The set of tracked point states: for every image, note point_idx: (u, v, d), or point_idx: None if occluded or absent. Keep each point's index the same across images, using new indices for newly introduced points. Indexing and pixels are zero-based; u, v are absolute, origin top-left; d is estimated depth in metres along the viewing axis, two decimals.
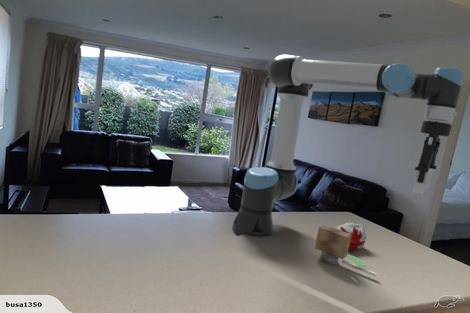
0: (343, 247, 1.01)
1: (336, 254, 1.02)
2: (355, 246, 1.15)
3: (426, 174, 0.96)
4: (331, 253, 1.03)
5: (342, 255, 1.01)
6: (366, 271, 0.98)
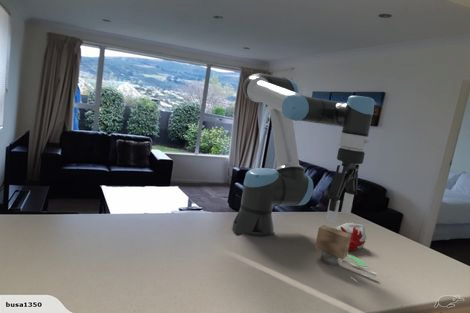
0: (343, 247, 1.01)
1: (336, 254, 1.02)
2: (355, 246, 1.15)
3: (337, 202, 0.96)
4: (331, 253, 1.03)
5: (342, 255, 1.01)
6: (366, 271, 0.98)
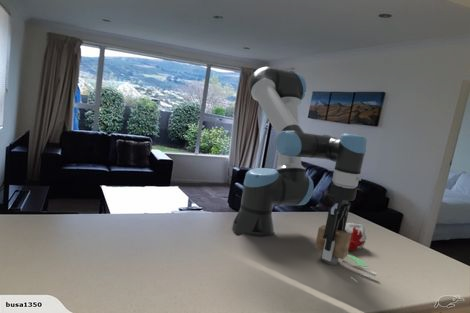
0: (343, 247, 1.01)
1: (336, 254, 1.02)
2: (355, 246, 1.15)
3: (332, 242, 1.01)
4: None
5: (342, 255, 1.01)
6: (366, 271, 0.98)
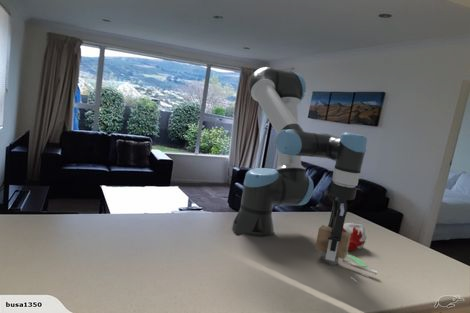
0: (344, 247, 1.01)
1: (337, 254, 1.02)
2: (355, 246, 1.15)
3: (337, 242, 1.01)
4: None
5: (343, 255, 1.01)
6: (367, 270, 0.99)
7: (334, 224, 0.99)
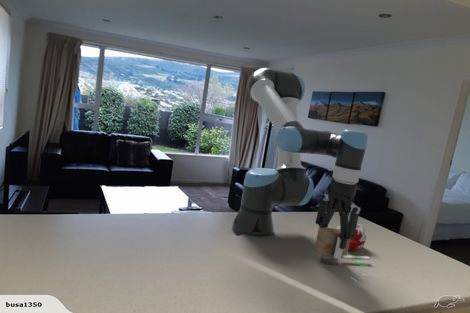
0: (347, 244, 1.04)
1: None
2: (355, 246, 1.15)
3: None
4: None
5: (346, 252, 1.04)
6: (363, 258, 1.07)
7: (349, 223, 0.98)
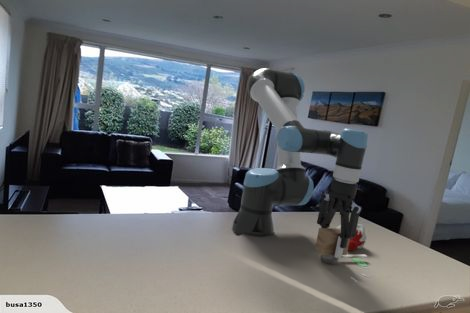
0: (347, 244, 1.04)
1: None
2: (355, 246, 1.15)
3: None
4: None
5: (346, 251, 1.05)
6: (360, 256, 1.09)
7: (350, 223, 0.98)
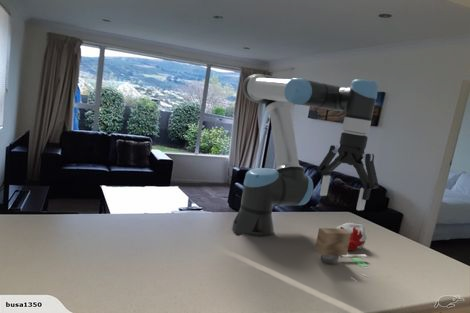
0: (347, 244, 1.04)
1: (341, 252, 1.04)
2: (355, 246, 1.15)
3: None
4: (337, 253, 1.04)
5: (346, 251, 1.05)
6: (360, 256, 1.09)
7: (368, 172, 0.94)
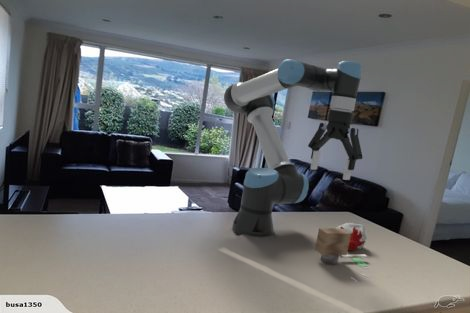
0: (347, 244, 1.04)
1: (341, 252, 1.04)
2: (355, 246, 1.15)
3: None
4: (337, 253, 1.04)
5: (346, 251, 1.05)
6: (360, 256, 1.09)
7: (353, 144, 1.04)
